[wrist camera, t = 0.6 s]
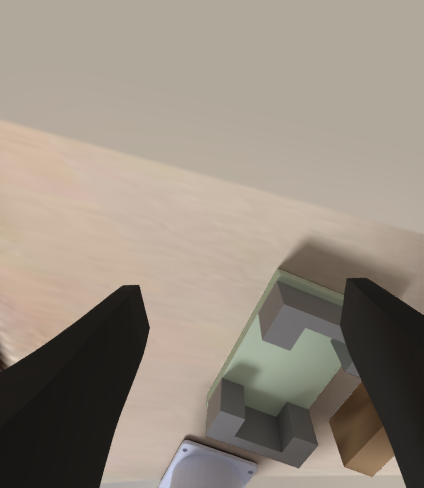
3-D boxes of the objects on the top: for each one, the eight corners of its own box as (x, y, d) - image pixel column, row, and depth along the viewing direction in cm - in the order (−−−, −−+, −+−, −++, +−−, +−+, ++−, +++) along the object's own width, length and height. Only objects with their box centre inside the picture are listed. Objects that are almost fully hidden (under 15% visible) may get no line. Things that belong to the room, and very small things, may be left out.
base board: (286, 424, 26) (288, 434, 25) (207, 395, 26) (206, 405, 25) (373, 307, 21) (380, 315, 20) (277, 268, 21) (279, 274, 20)
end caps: (291, 431, 25) (298, 468, 22) (208, 401, 25) (205, 435, 22) (376, 320, 21) (399, 349, 18) (276, 280, 20) (283, 303, 17)
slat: (352, 428, 26) (372, 476, 22) (328, 419, 26) (344, 466, 22) (421, 350, 23) (459, 393, 19) (394, 339, 22) (426, 380, 19)
